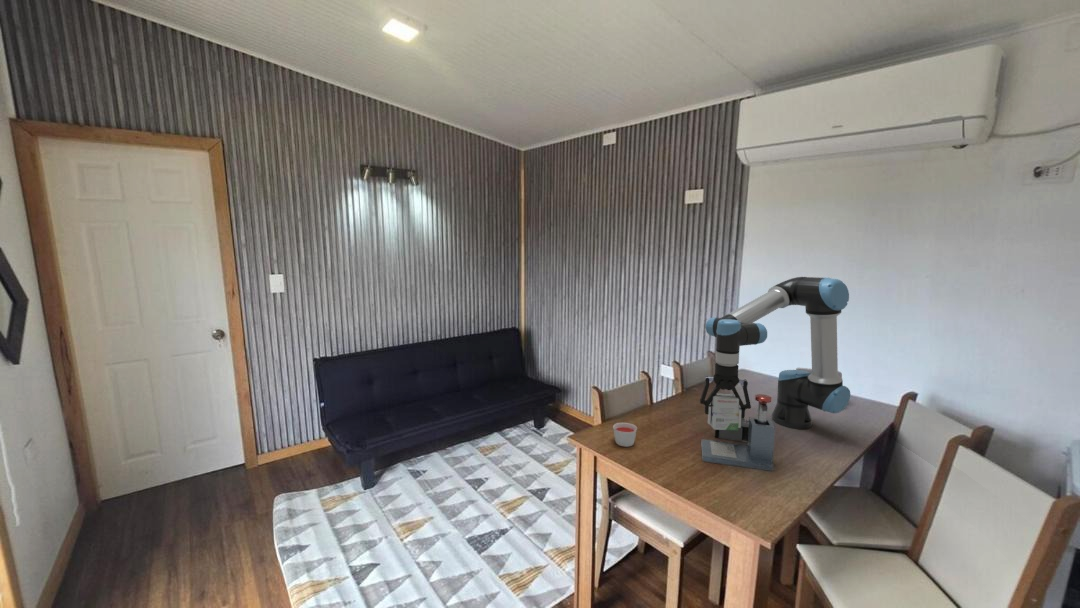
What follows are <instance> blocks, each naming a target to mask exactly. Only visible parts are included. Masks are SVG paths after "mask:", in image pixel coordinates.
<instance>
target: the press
mask: <svg viewBox="0 0 1080 608" xmlns="http://www.w3.org/2000/svg"><path fill="white" fill-rule="evenodd" d="M748 419H749V431H748V442H747V444H742V443H736V442H727V441H718V440H712V439H705V438H703V439H702V438H701V443H700V444H701V458H702V459H701V460H702V462H704V463H705V462H706V463H713V464H719V465H720V464H721V465H727V466H735V467H741V468H749V469H754V470H761V471H767V472H768V471H769V472H773V471H774V463H773V461H774V449H775V433H776V431H775V430H776V427H775V425H774V423H773V422H774V421H773V420H772V419H768V418H767V419H766V425H762V424H757V417H748Z"/></svg>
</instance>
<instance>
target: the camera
mask: <svg viewBox="0 0 1080 608" xmlns="http://www.w3.org/2000/svg"><path fill="white" fill-rule="evenodd" d="M748 431H749V418H746V419H745V417H744V418H741V428H738V430H714V438H717V439H724V440H729V441H730V440H731V441H736V442H742V443H748Z"/></svg>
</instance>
